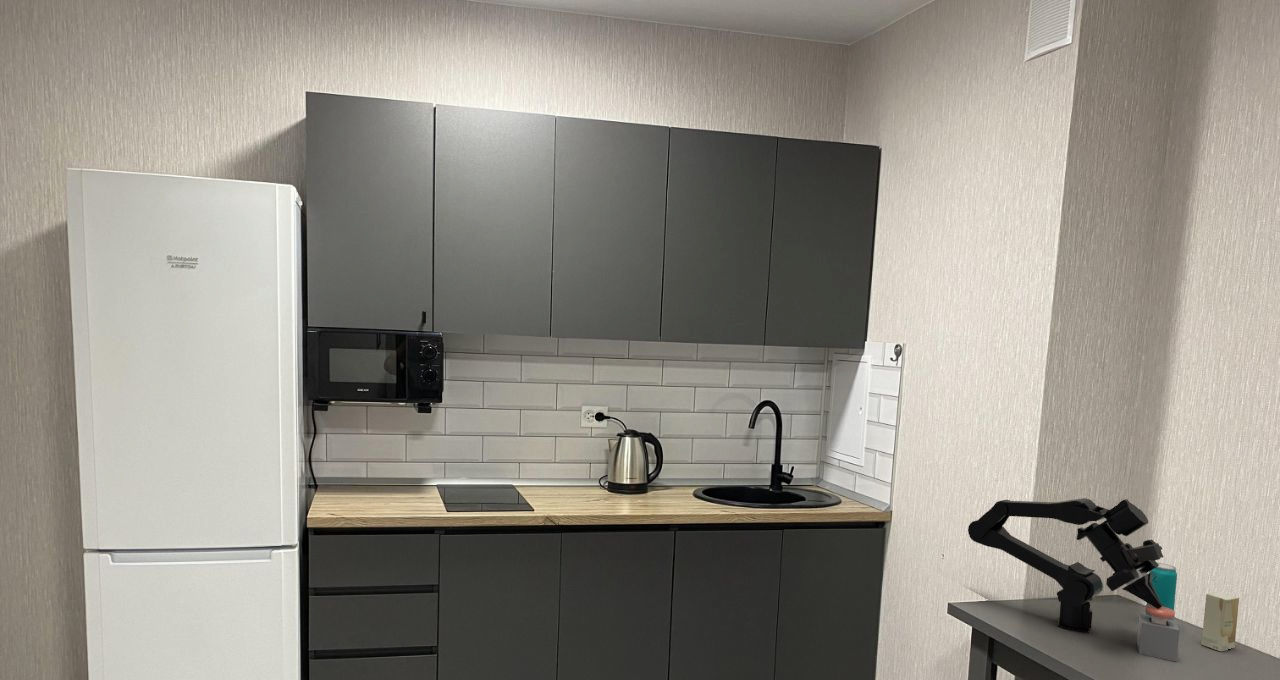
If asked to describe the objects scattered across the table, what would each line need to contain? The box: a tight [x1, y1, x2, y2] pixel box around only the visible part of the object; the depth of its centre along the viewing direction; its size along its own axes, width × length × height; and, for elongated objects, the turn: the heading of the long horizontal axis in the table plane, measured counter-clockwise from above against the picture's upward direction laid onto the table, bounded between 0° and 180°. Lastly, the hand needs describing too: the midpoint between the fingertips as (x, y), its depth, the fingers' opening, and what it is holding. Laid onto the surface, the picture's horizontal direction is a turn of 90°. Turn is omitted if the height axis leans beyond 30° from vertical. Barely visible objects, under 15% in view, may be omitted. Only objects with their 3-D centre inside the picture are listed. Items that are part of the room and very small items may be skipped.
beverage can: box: [1145, 562, 1178, 620], centre depth 199 cm, size 6×6×15 cm
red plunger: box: [1144, 604, 1176, 625], centre depth 181 cm, size 6×6×8 cm
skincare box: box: [1200, 591, 1240, 652], centre depth 187 cm, size 6×4×12 cm
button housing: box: [1136, 613, 1180, 663], centre depth 181 cm, size 7×7×7 cm
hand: (1160, 607), depth 181 cm, fingers closed, pressing on red plunger
